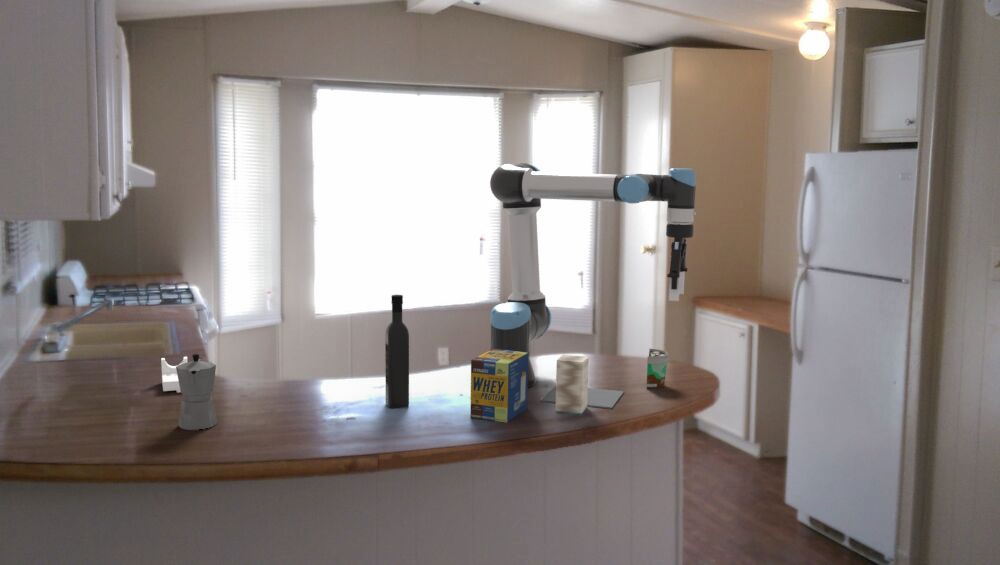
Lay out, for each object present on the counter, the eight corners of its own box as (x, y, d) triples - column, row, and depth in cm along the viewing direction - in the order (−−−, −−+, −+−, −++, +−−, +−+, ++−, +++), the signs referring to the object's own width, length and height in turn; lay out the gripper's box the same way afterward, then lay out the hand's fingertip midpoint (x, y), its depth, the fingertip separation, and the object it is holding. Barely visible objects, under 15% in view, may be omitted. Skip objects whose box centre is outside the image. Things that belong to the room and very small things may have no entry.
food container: (667, 391, 267) (669, 358, 266) (646, 390, 268) (647, 356, 267) (668, 381, 279) (670, 349, 278) (648, 380, 280) (649, 348, 279)
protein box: (469, 418, 238) (470, 359, 236) (492, 403, 252) (492, 348, 250) (507, 423, 234) (508, 363, 232) (528, 408, 248) (529, 351, 246)
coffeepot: (215, 431, 223) (213, 359, 221) (174, 434, 221) (172, 360, 218) (220, 414, 238) (218, 345, 235) (181, 416, 236) (179, 347, 233)
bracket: (162, 383, 269) (161, 358, 268) (187, 381, 272) (187, 356, 271) (163, 394, 257) (162, 368, 256) (190, 392, 260) (189, 366, 259)
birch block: (555, 411, 245) (556, 360, 243) (562, 405, 251) (563, 354, 250) (581, 414, 243) (582, 362, 241) (587, 407, 249) (588, 356, 247)
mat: (540, 401, 254) (540, 400, 254) (556, 386, 271) (556, 385, 271) (611, 408, 248) (611, 407, 248) (623, 392, 265) (623, 391, 265)
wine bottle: (388, 408, 245) (388, 297, 241) (384, 403, 250) (384, 294, 246) (409, 407, 247) (410, 296, 243) (405, 401, 252) (405, 293, 248)
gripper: (689, 227, 249) (685, 304, 252) (697, 220, 272) (693, 291, 275) (661, 225, 251) (657, 302, 254) (671, 219, 275) (668, 290, 278)
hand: (676, 297), depth 265 cm, fingers open, 13 cm apart
